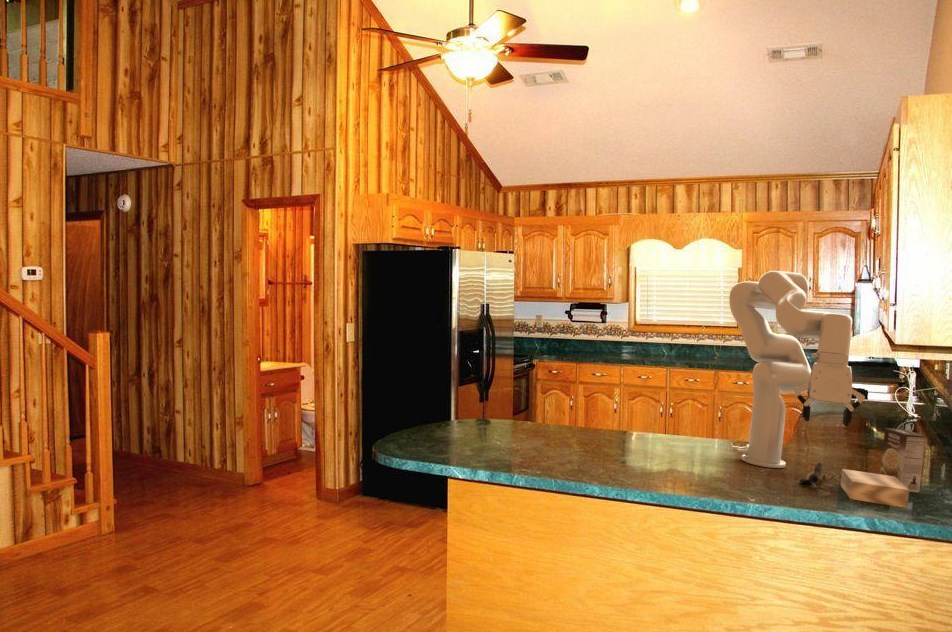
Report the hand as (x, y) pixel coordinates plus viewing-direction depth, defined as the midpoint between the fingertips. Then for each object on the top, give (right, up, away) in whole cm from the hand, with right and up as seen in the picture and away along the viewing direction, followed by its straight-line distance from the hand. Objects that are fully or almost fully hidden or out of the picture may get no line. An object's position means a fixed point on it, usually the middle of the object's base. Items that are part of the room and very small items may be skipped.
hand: (825, 422), depth 190 cm
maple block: (+12, -20, -1) cm, 23 cm away
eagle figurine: (-2, -18, +3) cm, 18 cm away
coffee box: (+26, -20, +11) cm, 35 cm away
